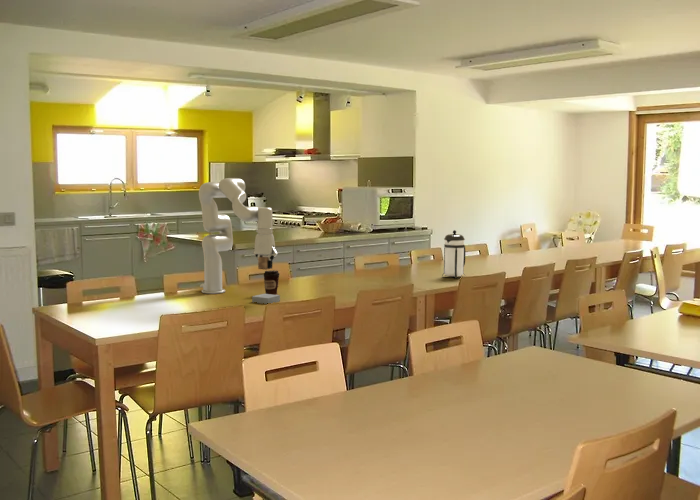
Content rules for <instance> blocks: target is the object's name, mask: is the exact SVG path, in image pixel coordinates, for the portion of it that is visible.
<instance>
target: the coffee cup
mask: <svg viewBox="0 0 700 500" xmlns="http://www.w3.org/2000/svg"><path fill="white" fill-rule="evenodd" d="M263 278H264V279H263V283H264V291H265V293H264V294H272V295H279V294H278V288H279V279H280V272H279V270H275V269H274V270H273V269H272V270H265V271H264V273H263Z"/></svg>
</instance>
